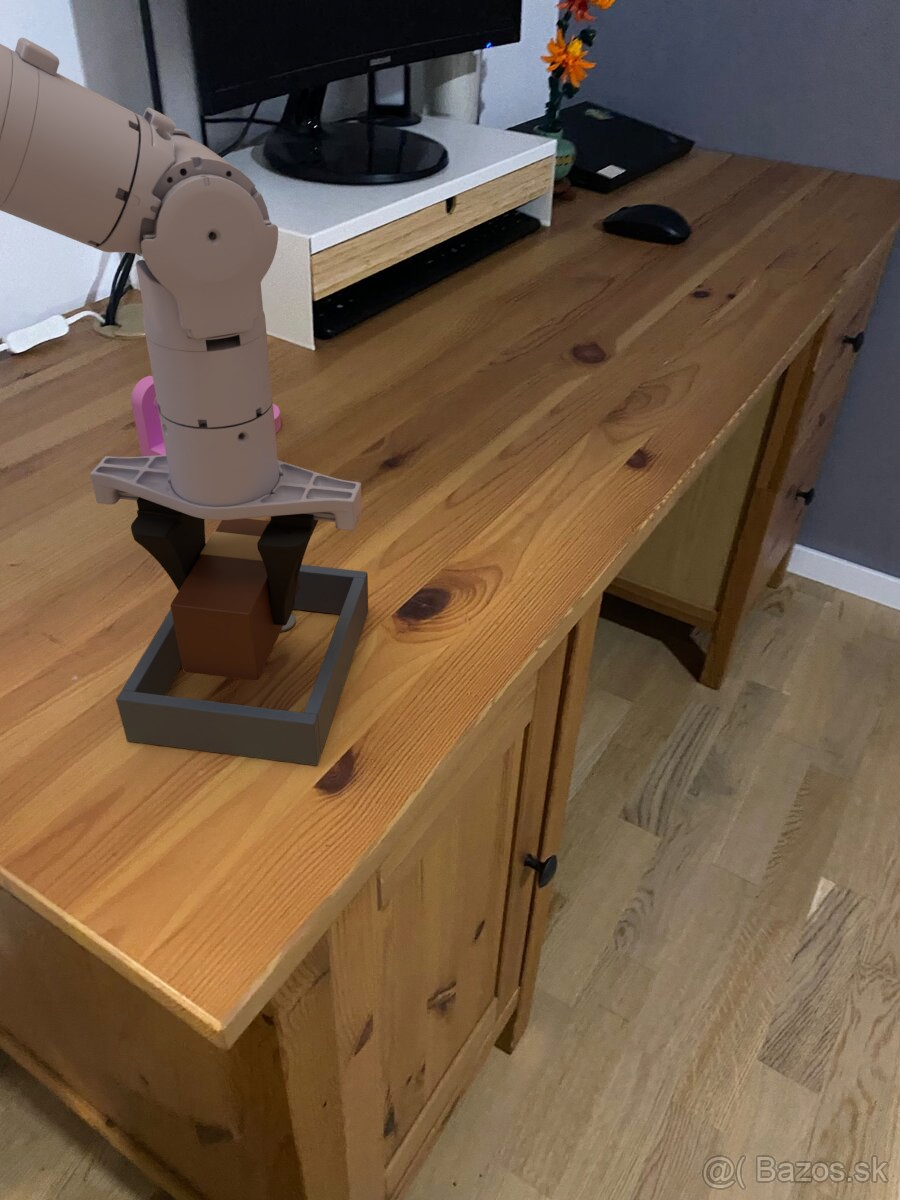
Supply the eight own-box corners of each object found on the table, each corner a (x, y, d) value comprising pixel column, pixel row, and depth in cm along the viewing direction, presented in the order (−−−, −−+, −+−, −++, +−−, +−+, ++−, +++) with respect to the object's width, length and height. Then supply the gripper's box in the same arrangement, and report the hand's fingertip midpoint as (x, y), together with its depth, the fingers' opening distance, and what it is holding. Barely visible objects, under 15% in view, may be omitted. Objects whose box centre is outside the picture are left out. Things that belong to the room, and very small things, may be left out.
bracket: (183, 479, 78) (171, 404, 73) (142, 457, 80) (127, 384, 76) (293, 425, 86) (287, 354, 81) (252, 407, 88) (244, 338, 84)
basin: (126, 741, 54) (115, 699, 52) (210, 592, 65) (203, 553, 63) (317, 766, 53) (314, 724, 51) (368, 611, 64) (367, 571, 62)
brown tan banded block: (182, 673, 52) (168, 604, 49) (232, 580, 59) (223, 514, 56) (259, 682, 52) (251, 613, 49) (301, 588, 59) (295, 522, 56)
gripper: (371, 382, 49) (374, 583, 57) (112, 358, 50) (153, 558, 59) (341, 445, 43) (350, 657, 52) (51, 416, 45) (106, 628, 53)
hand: (243, 610), depth 55 cm, fingers closed on brown tan banded block, 4 cm apart
